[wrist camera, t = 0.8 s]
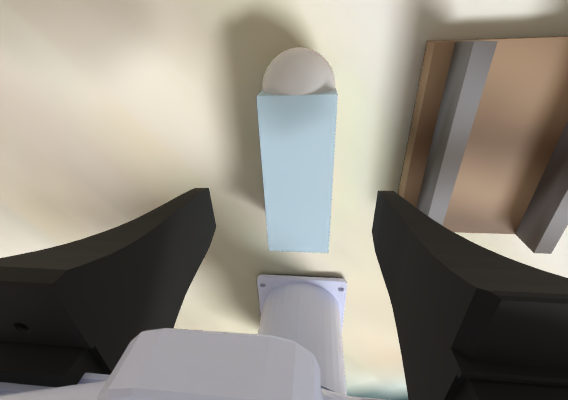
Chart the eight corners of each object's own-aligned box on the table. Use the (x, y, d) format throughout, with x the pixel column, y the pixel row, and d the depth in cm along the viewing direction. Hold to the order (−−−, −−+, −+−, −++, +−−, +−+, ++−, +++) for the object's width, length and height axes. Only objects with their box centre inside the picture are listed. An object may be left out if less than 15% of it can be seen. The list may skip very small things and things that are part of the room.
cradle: (534, 224, 21) (568, 254, 18) (392, 221, 22) (403, 248, 19) (630, 33, 15) (703, 33, 12) (427, 41, 16) (450, 42, 13)
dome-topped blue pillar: (326, 219, 22) (328, 253, 19) (276, 217, 23) (268, 250, 19) (335, 44, 16) (340, 47, 13) (265, 47, 17) (252, 50, 13)
